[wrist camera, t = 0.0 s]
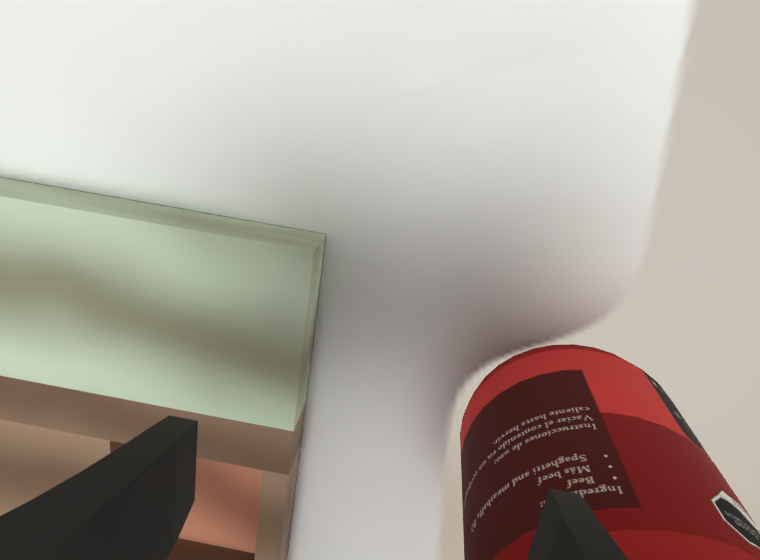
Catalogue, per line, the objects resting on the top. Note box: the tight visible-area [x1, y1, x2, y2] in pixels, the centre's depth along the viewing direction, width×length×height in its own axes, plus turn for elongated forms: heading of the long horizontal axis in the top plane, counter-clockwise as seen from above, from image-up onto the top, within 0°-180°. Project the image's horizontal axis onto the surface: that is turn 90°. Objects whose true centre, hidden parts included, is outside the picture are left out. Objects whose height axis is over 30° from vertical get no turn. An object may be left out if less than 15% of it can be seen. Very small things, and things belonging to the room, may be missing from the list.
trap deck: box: [0, 177, 326, 560], centre depth 24 cm, size 24×22×2 cm
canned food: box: [460, 345, 760, 560], centre depth 17 cm, size 8×8×11 cm
